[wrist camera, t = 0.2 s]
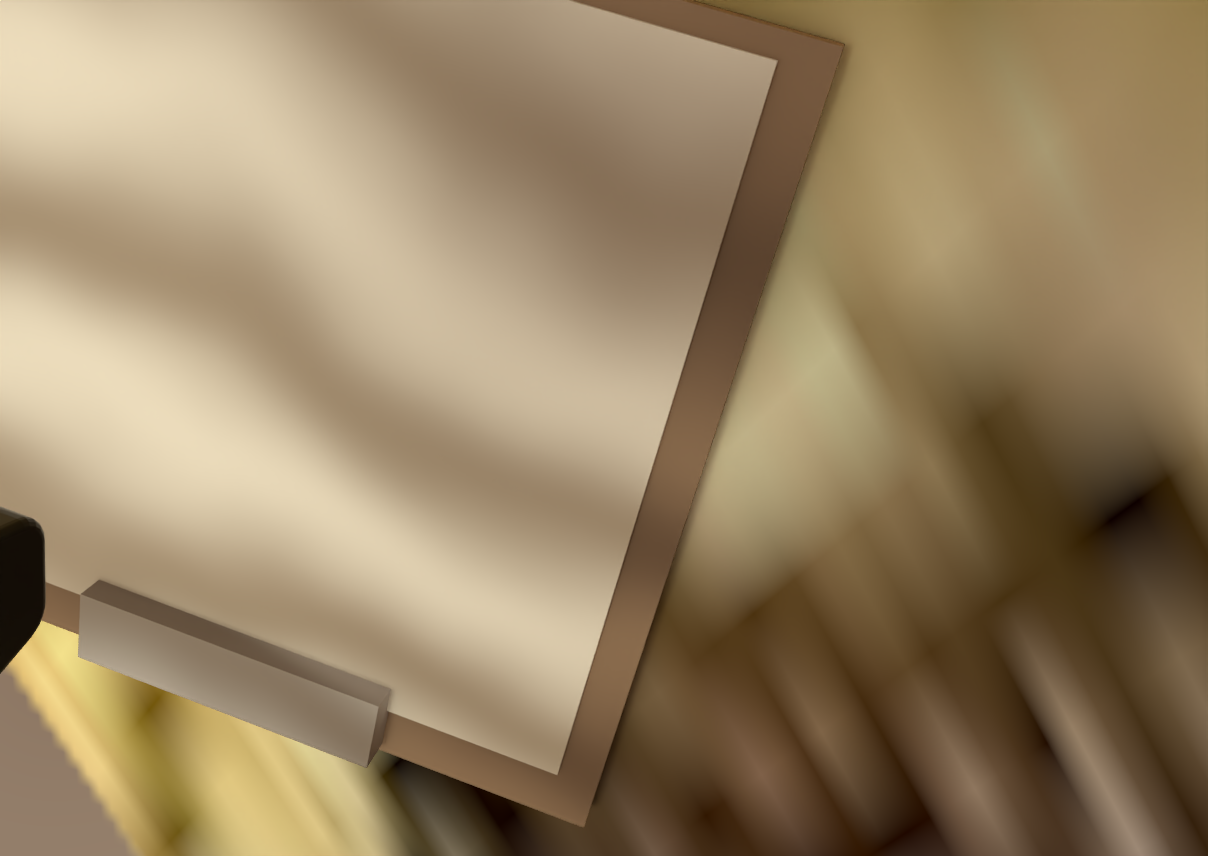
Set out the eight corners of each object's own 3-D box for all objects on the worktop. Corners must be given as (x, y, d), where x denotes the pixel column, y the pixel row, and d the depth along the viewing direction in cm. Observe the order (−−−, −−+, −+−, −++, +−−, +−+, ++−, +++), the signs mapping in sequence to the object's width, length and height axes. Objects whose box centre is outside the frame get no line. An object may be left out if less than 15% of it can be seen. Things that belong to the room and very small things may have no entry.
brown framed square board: (591, 804, 27) (574, 854, 26) (-58, 558, 29) (-110, 590, 28) (844, 44, 19) (841, 51, 17) (-86, -224, 21) (-161, -239, 19)
